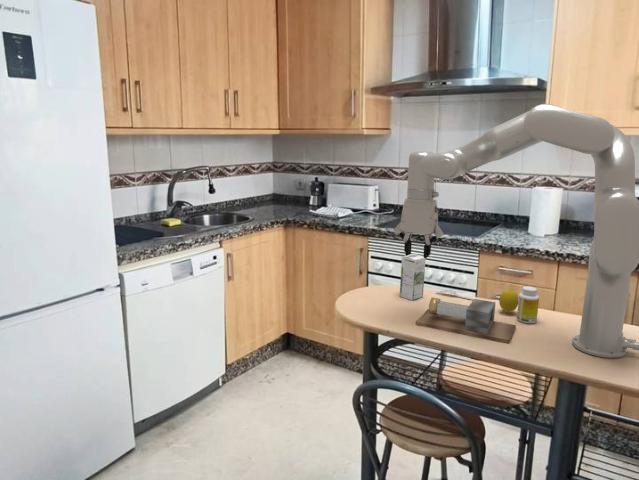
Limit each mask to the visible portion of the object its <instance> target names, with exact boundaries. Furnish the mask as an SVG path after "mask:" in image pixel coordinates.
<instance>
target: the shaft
mask: <svg viewBox="0 0 639 480" xmlns="http://www.w3.org/2000/svg"><path fill="white" fill-rule="evenodd" d="M468 307H469V305H467V304H460V303H456V302H449V301H443V300H441V299H440V298H437V297H431V299H430V301H429V306H428V309H429V314H432V315H438V314H442V315H448V316H453V317H459V318H464V319H466V311H467V308H468Z"/></svg>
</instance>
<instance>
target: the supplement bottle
mask: <svg viewBox="0 0 639 480" xmlns="http://www.w3.org/2000/svg"><path fill="white" fill-rule="evenodd" d="M539 301H540V296H539V295H538V289H537V288H536V287H534V286H523V287H522V290H521V292H520V293H519V294H518V306H517V311H516V315H517V316H516V319H517V320H518V321H519V322H521V323H524V324H535V323H536V322H537V321H538V312H539V305H540V302H539Z"/></svg>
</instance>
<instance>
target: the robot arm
mask: <svg viewBox="0 0 639 480" xmlns="http://www.w3.org/2000/svg"><path fill="white" fill-rule="evenodd" d="M541 142H545V143H548V144H551V145H554V146H557V147H561V148H565V149H569V150H571V151H575V152H579V153H582V154H586V155H591V158H592V159H593V162H594V163H593V164H594V198H593V204H592V212H593V215H594V218H593V220H594V221H593V224H594V226H593V230H594V231H593V238H592V240H591V242H590V247H589V253H588V267H587V274H586V275H587V276H586V285H585V291H584V296H583V298H584V299H583V305H582V306H583V307H582V313H581V314H582V315H581V321H580V327H579V328H580V329H579V334H577V335H574V336H573V337H572V339H571V344H572V346H573V347H575V348H576V349H577V350H579V351H581V352H582V353H585V354H588V355H591V356H596V357H601V358H609V359H617V358H618V359H619V358H622V357H625V356H626V355H627V351H628V349H632V350H636V351H639V342H637V340H636V339H633V338H626V336H624V332H623V329H624V324H625V317H626V311H627V304H628V298H629V292H630V286H631V277H632V272H633V271H634V270H635V269H636V268H637V267H638V265H639V199H638V198H637V196H636V157H635V152H634V149H633V146H632V145H633V144H631V142H630V140H629V139H628V137H627V136H626V134H625V133H624V132H623V131H622V130H620V129H619V128H618V127H617V126H616V125H613V124H611V123H610V122H609V121H608V120H606V119H605V118H602V117H598V116H595V115H592V114H587V113H583V112H578V111H575V110H571V109H567V108H564V107H560V106H557V105H554V104H550V103H541V104H538V105H536V106H534V107H532V108H531V109H530V110H528V111H526V112H524V113H522V114H519V115H518V116H516V117H513V118H512V119H509V120H507V121H505V122H503V123H501V124H498V125H496V126H494V127H492V128H490V129H488V130H487V131H486V132H484V133H483V134H482V135H481V136H479V137H477V138H475V139H474V140H472V141H470V142H468V143H466V144H463V145H462V146H458V147H457V148H455V149H453V150H449V151H446V152H437V153H436V152H435V153H434V152H432V151H413V152H411V153H410V154H409V156H408V170H407V171H408V173H407V174H408V175H407V193H406V198H405V199H404V202H403V205H402V212H401V215H400V216H401V218H400V221H399V223H398V224H397V225H396V226H395V228H394V232H396V233H397V235H399V237H400V238H401V239H402V241H403V242H404V248H403V249H404V251H403V252H404V253H405V255H404V256H408V255H411V254H412V243H413V242H412V240H411V238H412V235H413V234H414V235H423V236H424V239H425V244H423V255H422V256H423V257H424V258H426V259H427V258H428V257H429V256H430V255H431V253H432V252H431V251H432V243H434V242H435V241H436V240H438V239H439V238H441V237H442V236H444V232H443V230H442V229H441V228H440V226H439V223H438V222H439V216H438V202H437V199H435V198H438V197H439V195H440V193H439V192H438V191H435V180H436V179H439V180H445V181H446V180H452V179H455V178H457V177H460V176H461V175H463V174H465V173H467V172H470V171H472V170H475V169H477V168H479V167H481V166H484V165H486V164H489V163H491V162H495V161H500V160H502V159H505V158H507V157H509V156H512V155H514V154H517V153H518V152H521V151H522V150H525V149H528V148H530V147H533V146H535V145H536V144H539V143H541ZM434 233H436V234H435V235H434ZM432 235H433V236H432Z"/></svg>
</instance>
